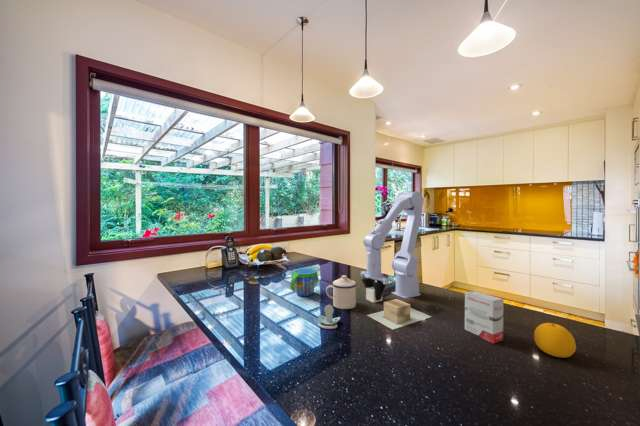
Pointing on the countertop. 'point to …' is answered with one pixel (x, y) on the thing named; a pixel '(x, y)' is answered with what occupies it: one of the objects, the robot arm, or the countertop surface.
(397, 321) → the oak block
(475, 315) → the ink box
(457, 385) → the countertop surface
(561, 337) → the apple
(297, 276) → the snack cup
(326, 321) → the pacifier
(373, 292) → the cream block
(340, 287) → the teacup with lid
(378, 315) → the plate
